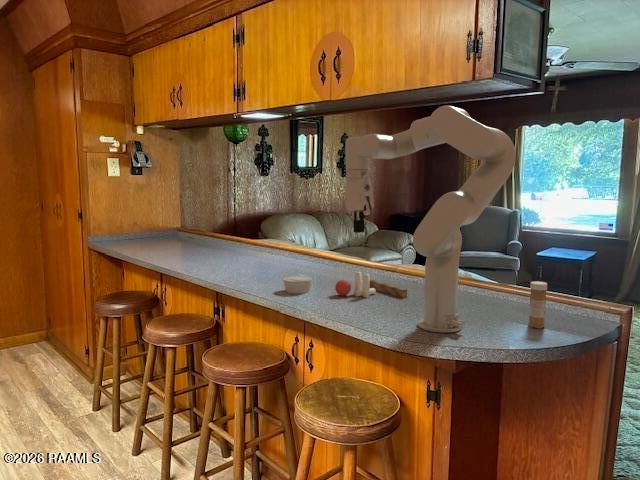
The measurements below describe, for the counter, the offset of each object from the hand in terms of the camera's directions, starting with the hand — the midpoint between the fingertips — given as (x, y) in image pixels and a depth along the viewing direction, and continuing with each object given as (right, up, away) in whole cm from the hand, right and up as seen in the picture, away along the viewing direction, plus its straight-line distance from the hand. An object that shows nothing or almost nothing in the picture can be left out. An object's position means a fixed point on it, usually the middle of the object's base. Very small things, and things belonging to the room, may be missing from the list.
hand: (359, 232), depth 159 cm
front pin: (+1, -23, +23) cm, 32 cm away
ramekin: (-22, -23, +32) cm, 45 cm away
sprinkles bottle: (+52, -29, -14) cm, 61 cm away
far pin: (+2, -23, +27) cm, 36 cm away
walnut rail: (+13, -23, +31) cm, 41 cm away
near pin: (+4, -24, +23) cm, 33 cm away
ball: (-4, -21, +25) cm, 32 cm away
